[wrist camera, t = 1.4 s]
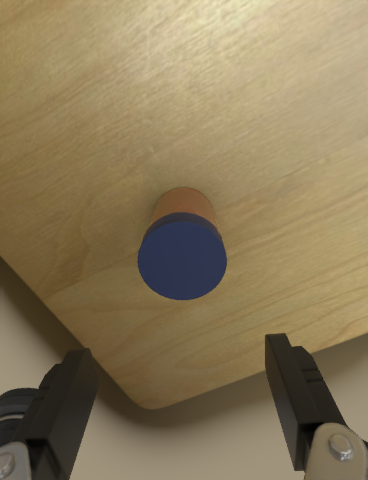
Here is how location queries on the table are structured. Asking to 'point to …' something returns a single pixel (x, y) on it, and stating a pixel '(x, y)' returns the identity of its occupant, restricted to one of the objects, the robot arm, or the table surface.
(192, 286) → the jar lid
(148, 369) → the table surface
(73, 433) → the robot arm
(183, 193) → the jar
